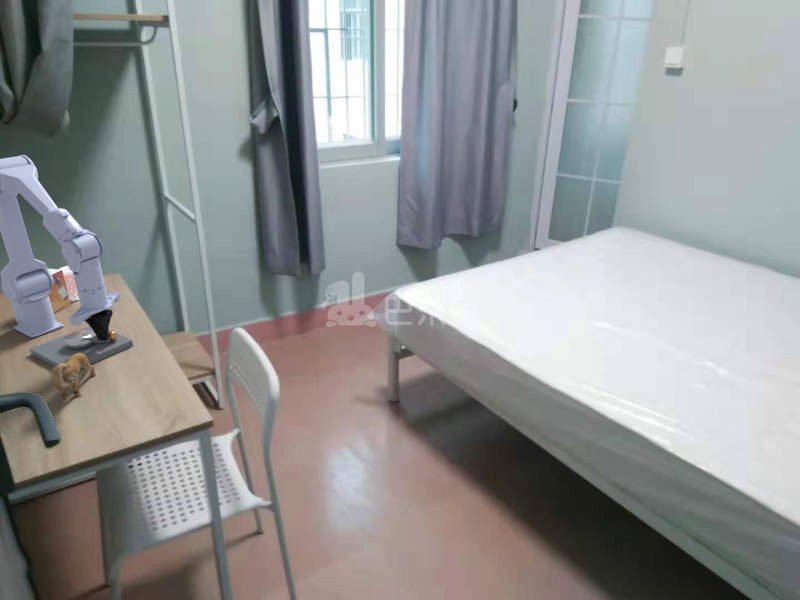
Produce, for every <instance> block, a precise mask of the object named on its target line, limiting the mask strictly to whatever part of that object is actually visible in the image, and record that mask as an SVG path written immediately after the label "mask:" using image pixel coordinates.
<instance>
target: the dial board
mask: <svg viewBox="0 0 800 600" xmlns="http://www.w3.org/2000/svg"><path fill="white" fill-rule="evenodd" d="M79 330H92V331H93V329H92V328H91V327H90V326H89V325H88V326H86V327H83V328H81V329H78V330H77V331H79ZM108 331H111V330H110V329H109V330H108ZM94 333H95V332H94ZM68 334H69V333H68ZM68 334H64V335H62V336H59V337H57V338H54V339H52V340H49V341H47V342H44V343H42V344H41V343H40V344H39V345H36V346H33V347H31V348H29V351H30V355H32V356H34V357H36V358H37V359H39V360H41V361H43V362H44V363H47V364H48V365H50V366H52V367H55V365H57V364H59V363H65V364H66V363H67V362H68V360H69V358H70V357H71V356H72V355H74V354H77V353H83V354H84V355H86V357H87V359H88V361H89V363H90V365H92V364H95V363H97V362H99V361H101V359H102V360H104V359H106V358H109V357H110V356H113V355H116V354H117V353H120V352H123V351H124V350H126V349H129V348H131V347H133V346H134V343H133V340H132V339H131V338H128V337H125V336H123V335H122V334H119V333H117V332H116V336H117V341H115V342H104V343H95V344H93V345H92V346H90V347H87V348H84V349H79V350H71V349H68V348H67V347H66V344H65V340H64V338H65V336H67V335H68ZM94 362H95V363H94ZM81 369H84V368H83V367H81V368H80V370H81Z"/></svg>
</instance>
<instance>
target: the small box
mask: <svg viewBox="0 0 800 600" xmlns="http://www.w3.org/2000/svg"><path fill="white" fill-rule="evenodd" d="M59 269H60V268H59ZM59 269H56V268H48V270H49V272H50V273H51V275H52V277H53V281H54V284H53V288H52V289H51V290H50V291H51V294H48V295H49V299H50V302H51V306H52V310H53V313H54V314H55V313H56V312H59V311H60V310H62V309H64V308H66V307H68V306H71V301H70V299H69V295H68V291H67V287H66V283H65V279H64V275H63V271H62V270H59Z"/></svg>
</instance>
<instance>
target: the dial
mask: <svg viewBox="0 0 800 600" xmlns="http://www.w3.org/2000/svg"><path fill="white" fill-rule="evenodd" d="M78 330H79V331H78ZM78 330H75V331H73V332H70V333H68V335H67V334H66V335H67V336H65V335H64V336H65V338H64V340H65V344H66V347H67V348H68V349H71V350H79V349H84V348H87V347H90V346H92V345H93V344H95V343H104V342H115V341H117V336H116V333H117V332H116V330H110V331H108V340H107V341H100V340H98V338H97V336H96V334H95V333H94V331H92V330H80V329H78Z"/></svg>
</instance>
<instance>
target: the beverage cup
mask: <svg viewBox="0 0 800 600" xmlns="http://www.w3.org/2000/svg"><path fill="white" fill-rule="evenodd" d="M59 270H62V271H63V275H64V279H65V283H66V287H67V291H68V295H69V299H70V300H71V301H70V302H76V301H75V300H78V301H80V300H79V295H78V291H77V287H76V283H75V279H74V275H73V271H71V270H70V268H69V266H68V265H65V266H61V267H60V268H59Z"/></svg>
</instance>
